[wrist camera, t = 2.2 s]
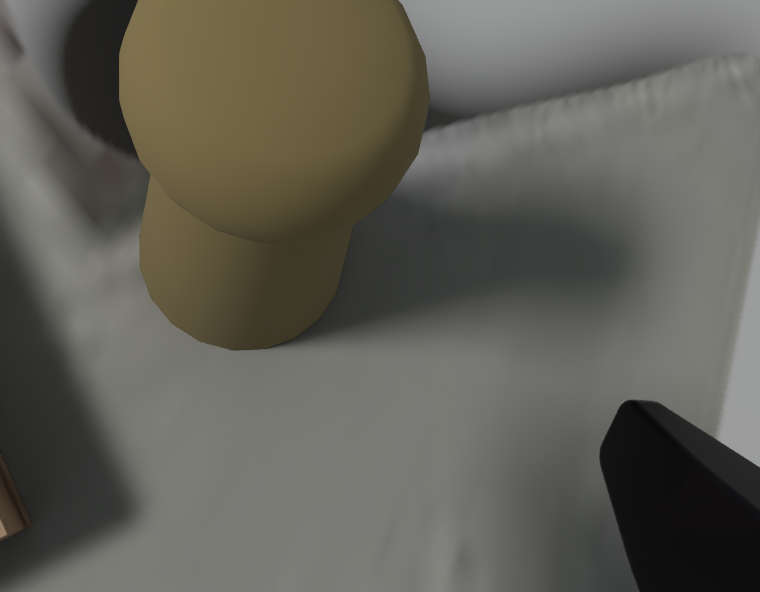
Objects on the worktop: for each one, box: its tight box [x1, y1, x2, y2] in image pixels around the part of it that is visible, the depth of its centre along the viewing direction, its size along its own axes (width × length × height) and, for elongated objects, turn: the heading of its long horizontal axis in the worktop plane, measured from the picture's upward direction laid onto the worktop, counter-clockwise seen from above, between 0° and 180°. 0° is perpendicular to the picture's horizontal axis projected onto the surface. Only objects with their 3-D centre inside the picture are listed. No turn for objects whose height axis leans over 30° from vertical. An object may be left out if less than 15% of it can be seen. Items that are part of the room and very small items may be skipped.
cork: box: [119, 0, 430, 350], centre depth 15 cm, size 6×6×11 cm
